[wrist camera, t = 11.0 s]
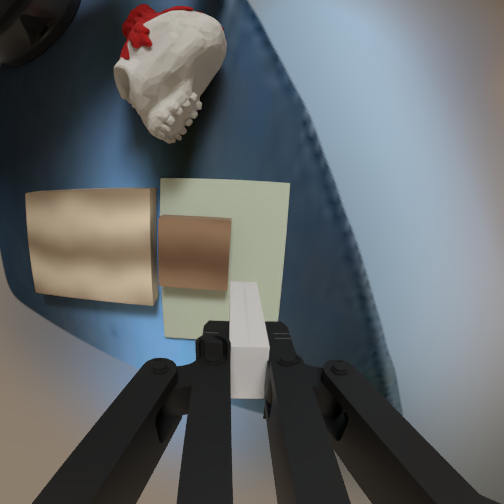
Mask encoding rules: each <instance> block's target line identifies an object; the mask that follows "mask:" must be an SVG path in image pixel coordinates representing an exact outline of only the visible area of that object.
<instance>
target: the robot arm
mask: <svg viewBox="0 0 504 504" xmlns="http://www.w3.org/2000/svg"><path fill="white" fill-rule="evenodd" d="M79 4H80V0H0V63H2V64H5V65H7V66H12V67H15V66H20V65H23V64H26V63H28V62H30V61H32V60H33V59H35V58H36V57H38V56H39V55H41V54H42V53H43V52H44V51H45V50H47V49H48V48H49V47H50V46H51V45H52V44H53V43H54V42H55V41H56V40H57V39H58V38H59V36H60V35H61V34H62V33H63V32H64V30H65V29H66V28H67V26H68V25H69V23H70V22H71V20H72V19H73V17H74V15H75V13H76V11H77V9H78V6H79ZM195 344H196V361H194V362H193V363H191V364H188V365H184V366H176V364H175V363H174V362H173V361H172V360H169V359H166V358H154V359H151V360H149V361H147V362H146V363H145V364H144V365H143V366H142V367H141V368H140V370H139V371H138V372H137V373H136V375H135V376H134V377H133V378H132V379H131V381H130V382H129V383H128V384H127V386H126V387H125V388H124V389H123V390H122V392H121V393H120V394H119V395H118V396H117V398H116V399H115V400H114V402H113V403H112V404H111V405H110V406H109V408H108V409H107V410H106V411H105V412H104V414H103V415H102V416H101V417H100V419H99V420H98V421H97V422H96V424H95V425H94V426H93V427H92V429H91V430H90V431H89V432H88V433H87V435H86V436H85V437H84V439H83V440H82V441H81V442H80V443H79V445H78V446H77V447H76V449H75V450H74V451H73V452H72V454H71V455H70V456H69V458H67V460H66V461H65V462H64V463H63V465H62V466H61V467H60V469H59V470H58V471H57V472H56V474H55V475H54V476H53V477H52V479H51V480H50V481H49V483H48V484H47V485H46V486H45V487H44V489H43V490H42V491H41V493H40V494H39V495H38V496H37V498H36V499H35V500H34V502H33V503H32V504H136V503H137V500H138V499H139V497H140V495H141V493H142V492H143V490H144V488H145V486H146V484H147V482H148V481H149V479H150V477H151V475H152V473H153V471H154V469H155V468H156V466H157V464H158V462H159V460H160V458H161V456H162V454H163V452H164V451H165V449H166V447H167V445H168V443H169V441H170V439H171V438H172V435H173V434H174V432H175V430H176V428H177V426H178V424H179V422H180V421H181V418H182V415H185V414H188V417H187V424H186V431H185V438H184V446H183V454H182V462H181V470H180V478H179V487H178V496H177V504H233V488H232V449H231V398H243V399H263V398H264V393H265V396H266V400H265V408H264V416H263V418H264V419H266V421H267V428H268V435H269V443H270V450H271V458H272V466H273V473H274V480H275V487H276V494H277V502H278V504H351V503H350V500H349V497H348V494H347V490H346V487H345V484H344V481H343V478H342V475H341V472H340V469H339V466H338V462H337V459H336V456H335V453H334V450H335V452H336V453H337V455H338V456H339V457H340V459H341V460H342V462H343V463H344V465H345V466H346V468H347V469H348V471H349V472H350V473H351V475H352V476H353V478H354V479H355V480H356V482H357V483H358V485H359V486H360V487H361V489H362V490H363V492H364V493H365V494H366V496H367V497H368V499H369V500H370V501H371V503H372V504H500V503H498V502H496V501H493V500H491V499H489V498H486V497H484V496H482V495H480V494H479V493H478V492H477V491H476V490H475V489H474V488H473V487H472V486H471V485H470V484H469V483H468V482H467V481H466V480H465V479H464V478H463V477H462V476H461V475H460V474H459V473H458V472H457V471H456V470H455V469H454V468H453V467H452V466H451V465H450V464H449V463H448V462H447V461H446V460H445V459H444V458H443V457H442V456H441V455H440V454H439V453H438V452H437V451H436V450H435V449H434V448H433V447H432V446H431V445H430V444H429V443H428V442H427V441H426V440H425V439H424V438H423V437H422V436H421V435H420V434H419V433H418V432H417V431H416V430H415V429H414V428H413V427H412V425H411V424H410V423H409V422H408V421H407V420H406V419H405V418H404V417H403V416H402V415H401V414H400V413H399V412H398V411H397V410H396V409H395V408H394V407H393V406H392V405H391V404H390V403H389V402H388V401H387V400H386V399H385V398H384V397H383V396H382V395H381V394H380V393H379V392H378V391H377V390H376V389H375V388H374V387H373V385H372V384H371V383H370V382H369V381H368V380H367V379H366V378H365V377H364V376H363V375H362V374H361V373H360V372H359V371H358V370H357V369H356V368H355V367H354V366H353V365H352V364H350V363H349V362H346V361H344V360H338V359H337V360H330V361H328V362H326V363H325V364H324V366H323V368H320V367H314V366H309V365H307V364H304V361H303V359H302V358H301V357H300V356H299V355H297V354H296V352H295V349H294V346H293V343H292V340H291V337H290V334H289V331H288V328H287V326H286V325H285V324H284V323H282V322H281V321H264V316H263V311H262V306H261V301H260V296H259V291H258V286H257V282H237V281H230V309H229V321H213V320H209V321H208V322H207V323H206V324H205V325H204V328H203V334H202V336H200V337H199V338H197V340H196V342H195ZM333 449H334V450H333Z"/></svg>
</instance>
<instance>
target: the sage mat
mask: <svg viewBox="0 0 504 504" xmlns="http://www.w3.org/2000/svg"><path fill="white" fill-rule="evenodd" d="M289 191H290V183H279V182H265V181H248V180H227V179H196V178H161V183H160V216H162V215H185V216H204V217H221V218H232V220H231V236H230V253H229V270H228V287H227V291H221V290H205V289H191V288H177V287H165V286H161V287H162V305H163V319H164V332H165V337H172V338H185V339H197V338H199V337H200V336H202V334H203V328H204V325H205V324H206V323H207V322H208V321H209V320H213V321H229V309H230V281H237V282H257V286H258V291H259V296H260V301H261V306H262V311H263V316H264V321H278V315H279V305H280V295H281V285H282V275H283V264H284V253H285V242H286V230H287V217H288V205H289Z"/></svg>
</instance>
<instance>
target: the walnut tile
mask: <svg viewBox="0 0 504 504" xmlns="http://www.w3.org/2000/svg"><path fill="white" fill-rule="evenodd" d="M231 220H232V218H221V217H204V216H185V215H162V216H160V217H159V221H158V266H159V286H165V287H177V288H191V289H205V290H221V291H227V287H228V270H229V253H230V236H231Z"/></svg>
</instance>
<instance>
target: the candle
mask: <svg viewBox="0 0 504 504" xmlns="http://www.w3.org/2000/svg"><path fill="white" fill-rule="evenodd" d="M223 30H224V28H223V27H221V25H220V24H219V22H218V21H217V20H215V19H214V18H212V17H210V16H208V15H206V14H203V12H195V11H193V8H191V7H185V6H175V7H172V8H170V9H166V10H164V11H162V12H161V13H156V12H155V11H154V10H153V9H152V8H150V7H149V6H148V5H146V4H141V5H139V6H137V7H136V8H135V9H134V10H132V11H131V12H130V14H129V16H128V18H127V19H126V21H125V22H124V23H123V24H122V33H123V35H124V36H125V37H126V39H127V41H126V42H125V44H124V46H123V49H122V51H121V55H120V58H119V61H118V62H117V63H116V65H115V66H114V78H115V83H116V86H117V89H118V91H119V93H120V96H121V98H122V99H126V100H127V101H128V102H129V103H130V104H132V107H133V108H135V109H136V111H137V113H138V114H139V115H140V117H141V119H142V121H143V123H144V125H145V126H146V128H147V129H148V130H149V132H150V133H151V134H152V135H153V136H155V137H157V138H158V139H160V140H164V141H165V142H167V143H169V144H170V143H174V142H175V141H176V140H175V139H177V140H181V139H182V137H181V135H184V134H185V133H186V132H187V130H186V128H185V127H184V126H185V125H186V126H190V125H191V124H192V119H191V118H194V119H195V118H196V117H197V115H198V113H197V110H201V108H202V102H200V96H201V94H202V93H203V92H204V90H205V89H206V88H207V86H208V85H209V83H210V82H211V80H212V79H213V77H214V76H215V75H216V73H217V72H218V70H219V69H220V68H221V66H222V63H223V60H224V58H225V56H226V48H227V43H226V40H225V35H224V32H223ZM180 134H181V135H180ZM174 138H175V139H174Z"/></svg>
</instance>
